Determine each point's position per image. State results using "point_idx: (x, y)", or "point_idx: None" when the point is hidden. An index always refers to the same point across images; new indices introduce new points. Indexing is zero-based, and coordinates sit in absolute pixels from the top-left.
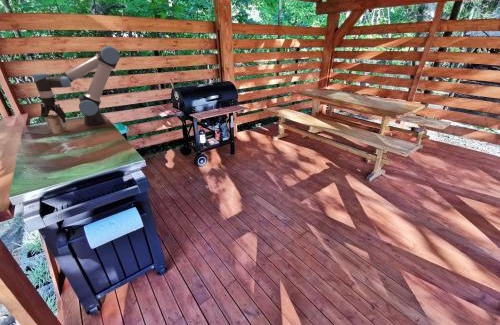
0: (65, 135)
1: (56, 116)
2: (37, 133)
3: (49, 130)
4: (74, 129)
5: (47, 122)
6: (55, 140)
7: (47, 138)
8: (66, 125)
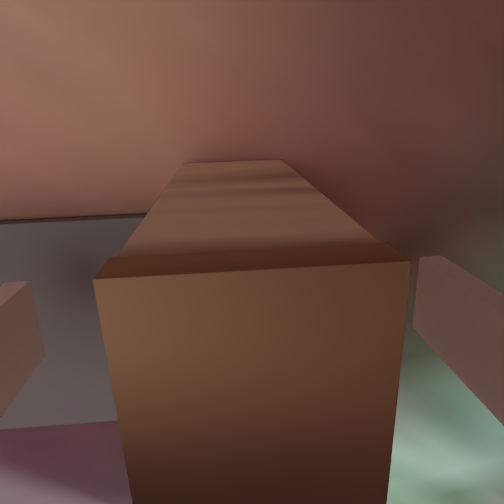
0: None
1: (383, 495)
2: (10, 426)
3: (14, 278)
4: (351, 60)
5: (3, 406)
6: (474, 487)
7: None
8: (451, 269)
